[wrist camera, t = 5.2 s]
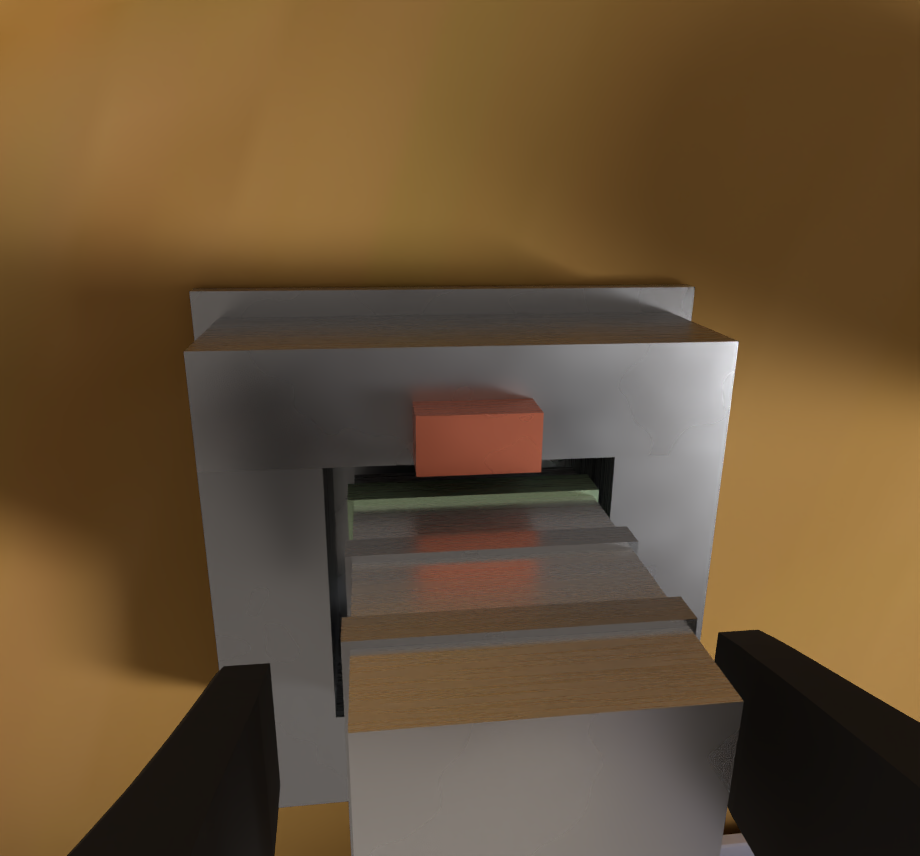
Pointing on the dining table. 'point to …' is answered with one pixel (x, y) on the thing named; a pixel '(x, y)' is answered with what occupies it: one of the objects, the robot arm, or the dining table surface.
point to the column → (522, 678)
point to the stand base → (431, 448)
